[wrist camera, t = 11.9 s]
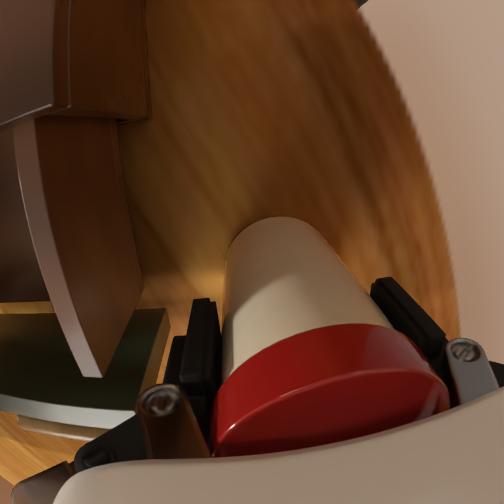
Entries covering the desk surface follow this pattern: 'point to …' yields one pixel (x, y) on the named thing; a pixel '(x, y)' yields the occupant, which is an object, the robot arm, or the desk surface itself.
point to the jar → (308, 350)
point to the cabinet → (73, 60)
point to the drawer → (71, 281)
